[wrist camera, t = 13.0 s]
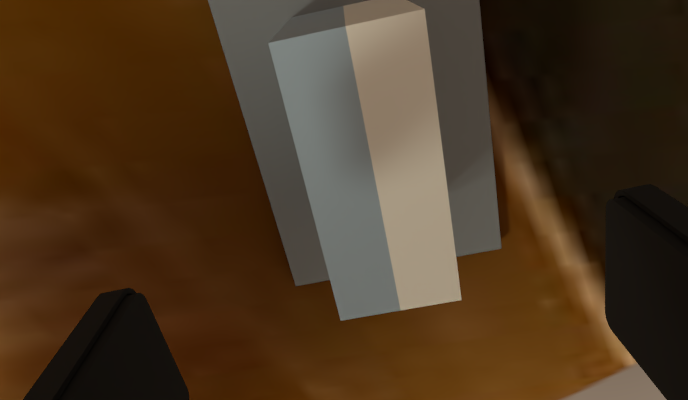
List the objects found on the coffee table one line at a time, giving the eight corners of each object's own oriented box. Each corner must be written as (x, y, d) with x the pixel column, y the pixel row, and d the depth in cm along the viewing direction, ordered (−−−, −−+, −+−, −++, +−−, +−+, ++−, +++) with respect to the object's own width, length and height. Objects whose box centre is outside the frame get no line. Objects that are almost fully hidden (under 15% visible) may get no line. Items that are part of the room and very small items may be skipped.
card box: (395, -6, 19) (424, 8, 12) (426, 205, 22) (461, 299, 16) (292, 17, 19) (268, 43, 13) (340, 221, 23) (340, 320, 16)
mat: (497, 242, 24) (501, 248, 23) (296, 279, 25) (295, 286, 24) (464, -116, 18) (468, -119, 17) (196, -51, 18) (192, -51, 18)
